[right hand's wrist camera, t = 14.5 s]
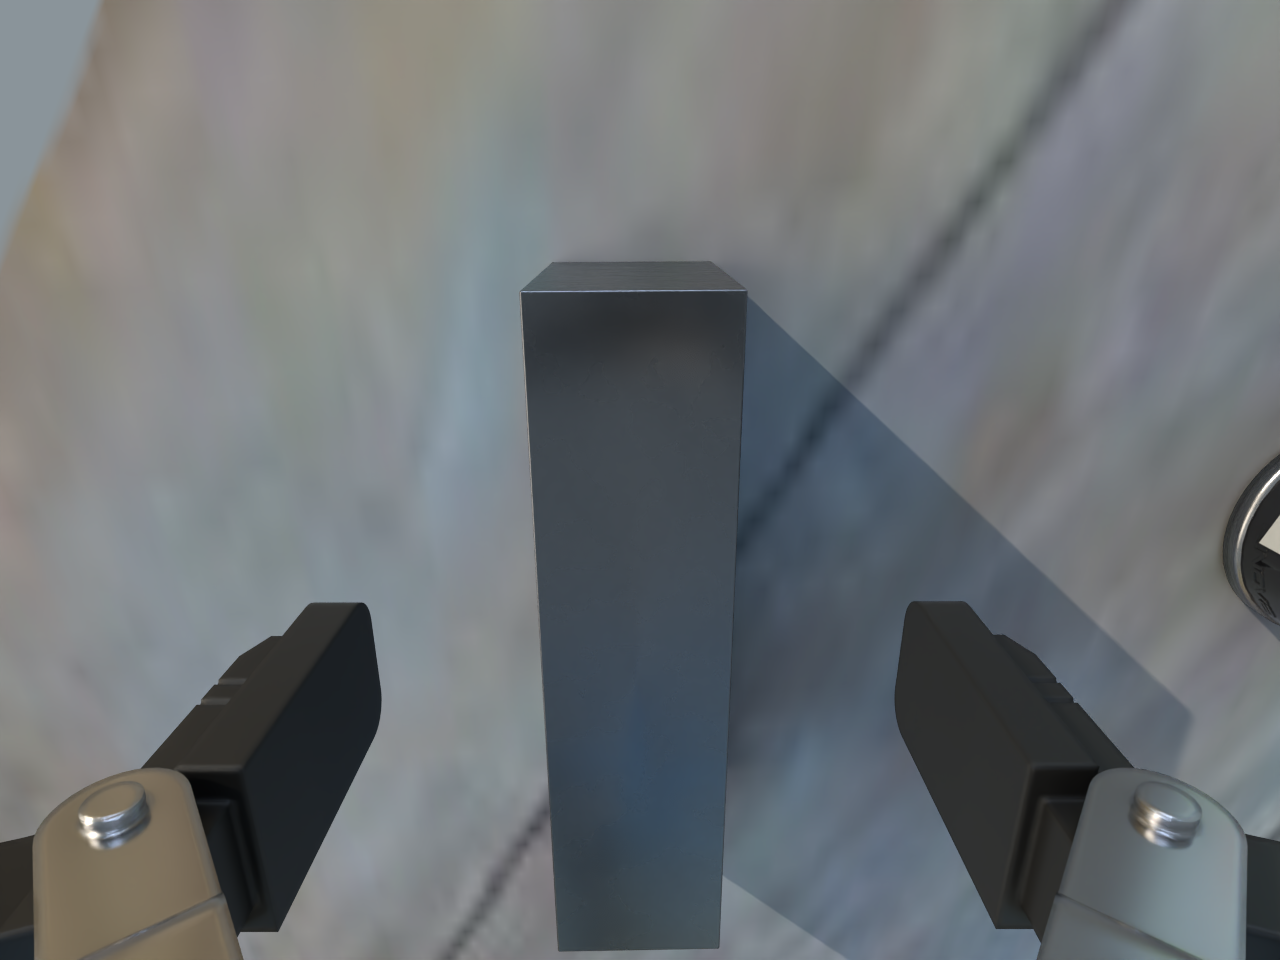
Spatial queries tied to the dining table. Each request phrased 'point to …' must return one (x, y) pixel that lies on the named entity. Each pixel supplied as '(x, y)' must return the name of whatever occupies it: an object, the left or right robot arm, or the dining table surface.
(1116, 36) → the dining table surface
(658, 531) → the bar
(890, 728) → the dining table surface
